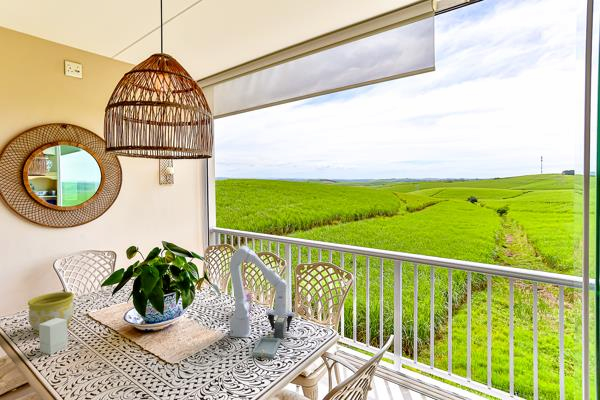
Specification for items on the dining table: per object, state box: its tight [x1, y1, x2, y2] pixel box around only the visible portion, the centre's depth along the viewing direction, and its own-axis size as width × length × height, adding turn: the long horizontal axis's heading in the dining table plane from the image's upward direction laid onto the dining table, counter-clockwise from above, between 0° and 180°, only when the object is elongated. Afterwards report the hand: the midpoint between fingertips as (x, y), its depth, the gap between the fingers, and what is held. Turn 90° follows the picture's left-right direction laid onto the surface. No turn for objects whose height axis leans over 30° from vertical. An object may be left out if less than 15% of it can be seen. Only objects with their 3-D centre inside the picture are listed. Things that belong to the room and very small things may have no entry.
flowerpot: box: [27, 291, 75, 335], centre depth 150 cm, size 18×18×16 cm
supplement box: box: [38, 318, 69, 355], centre depth 132 cm, size 7×7×13 cm
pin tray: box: [251, 333, 281, 360], centre depth 133 cm, size 10×15×4 cm, turn 171°
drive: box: [273, 316, 287, 339], centre depth 147 cm, size 4×8×7 cm, turn 171°
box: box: [244, 289, 252, 312], centre depth 172 cm, size 10×6×12 cm, turn 168°
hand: (280, 330), depth 147 cm, fingers open, 7 cm apart
